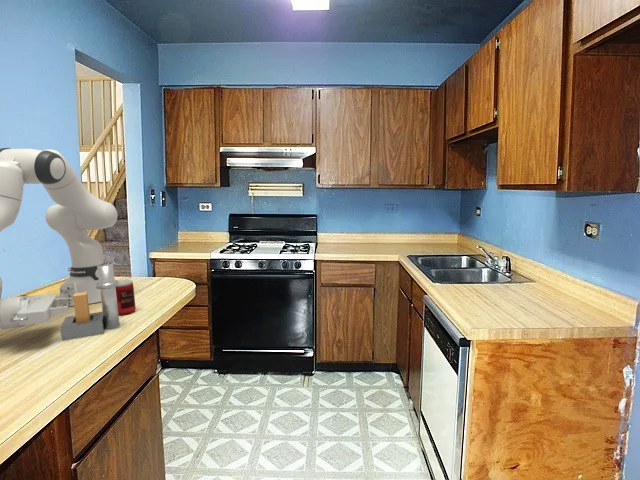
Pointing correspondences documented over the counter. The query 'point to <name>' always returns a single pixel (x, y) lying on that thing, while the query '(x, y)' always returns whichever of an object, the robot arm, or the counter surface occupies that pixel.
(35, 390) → the counter surface
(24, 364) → the counter surface
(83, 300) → the tall orange pillar block
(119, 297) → the canned food
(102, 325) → the grey socket with post
